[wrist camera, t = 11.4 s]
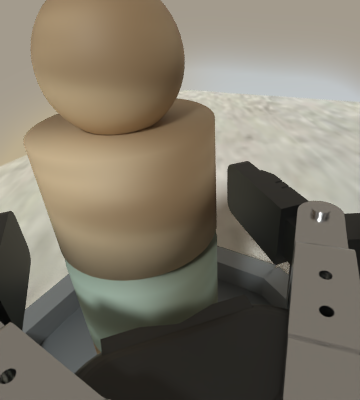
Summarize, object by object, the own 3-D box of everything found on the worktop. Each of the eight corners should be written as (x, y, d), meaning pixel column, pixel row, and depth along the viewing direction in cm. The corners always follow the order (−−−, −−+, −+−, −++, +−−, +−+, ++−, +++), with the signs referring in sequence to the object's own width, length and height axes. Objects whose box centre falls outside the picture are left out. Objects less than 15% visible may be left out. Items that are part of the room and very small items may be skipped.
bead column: (154, 319, 19) (96, -16, 10) (244, 365, 16) (266, -40, 8) (83, 408, 15) (-106, -13, 6) (186, 488, 12) (96, -59, 4)
